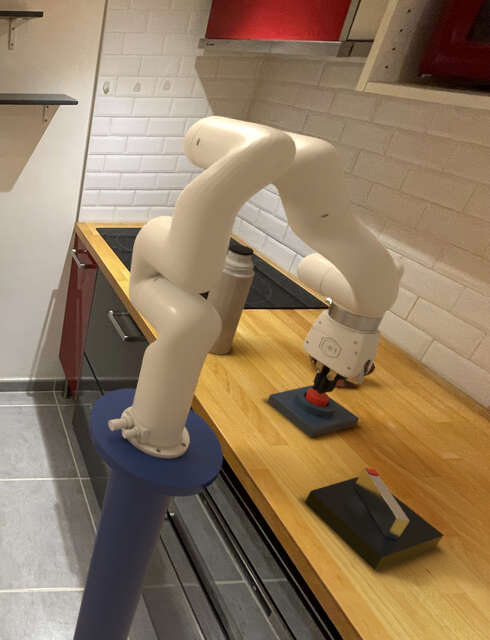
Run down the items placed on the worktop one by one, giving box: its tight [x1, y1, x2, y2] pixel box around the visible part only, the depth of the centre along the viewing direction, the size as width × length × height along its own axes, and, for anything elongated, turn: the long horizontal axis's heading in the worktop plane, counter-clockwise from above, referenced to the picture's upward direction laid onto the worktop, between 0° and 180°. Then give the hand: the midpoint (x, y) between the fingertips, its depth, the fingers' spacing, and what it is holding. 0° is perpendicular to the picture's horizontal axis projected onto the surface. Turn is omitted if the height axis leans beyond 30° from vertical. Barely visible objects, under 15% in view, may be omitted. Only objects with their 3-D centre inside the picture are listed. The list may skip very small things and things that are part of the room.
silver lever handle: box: [354, 467, 409, 540], centre depth 71 cm, size 9×2×5 cm, turn 165°
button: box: [305, 389, 330, 407], centre depth 93 cm, size 4×4×2 cm
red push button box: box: [267, 384, 360, 438], centre depth 94 cm, size 12×10×4 cm
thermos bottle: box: [206, 244, 255, 355], centre depth 111 cm, size 8×8×28 cm
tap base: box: [304, 476, 445, 571], centre depth 72 cm, size 13×11×3 cm
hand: (321, 390), depth 92 cm, fingers closed
